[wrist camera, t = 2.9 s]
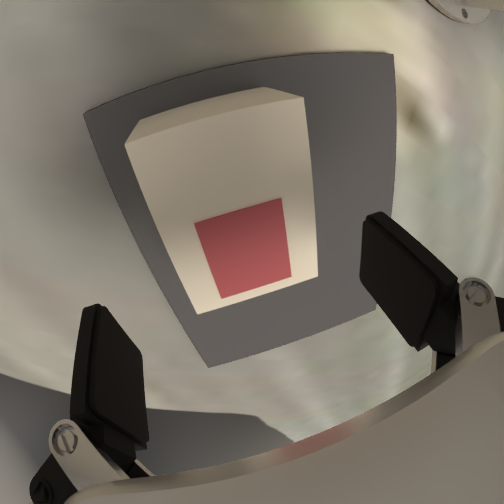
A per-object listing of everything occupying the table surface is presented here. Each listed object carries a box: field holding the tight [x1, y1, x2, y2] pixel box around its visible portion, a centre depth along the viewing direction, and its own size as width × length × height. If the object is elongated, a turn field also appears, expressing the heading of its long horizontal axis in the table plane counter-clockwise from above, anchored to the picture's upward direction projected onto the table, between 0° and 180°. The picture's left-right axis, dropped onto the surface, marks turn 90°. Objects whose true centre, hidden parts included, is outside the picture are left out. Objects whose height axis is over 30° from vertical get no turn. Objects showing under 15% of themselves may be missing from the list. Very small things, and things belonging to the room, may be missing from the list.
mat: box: [83, 53, 397, 368], centre depth 20 cm, size 24×18×1 cm
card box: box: [124, 87, 318, 315], centre depth 14 cm, size 9×6×5 cm
